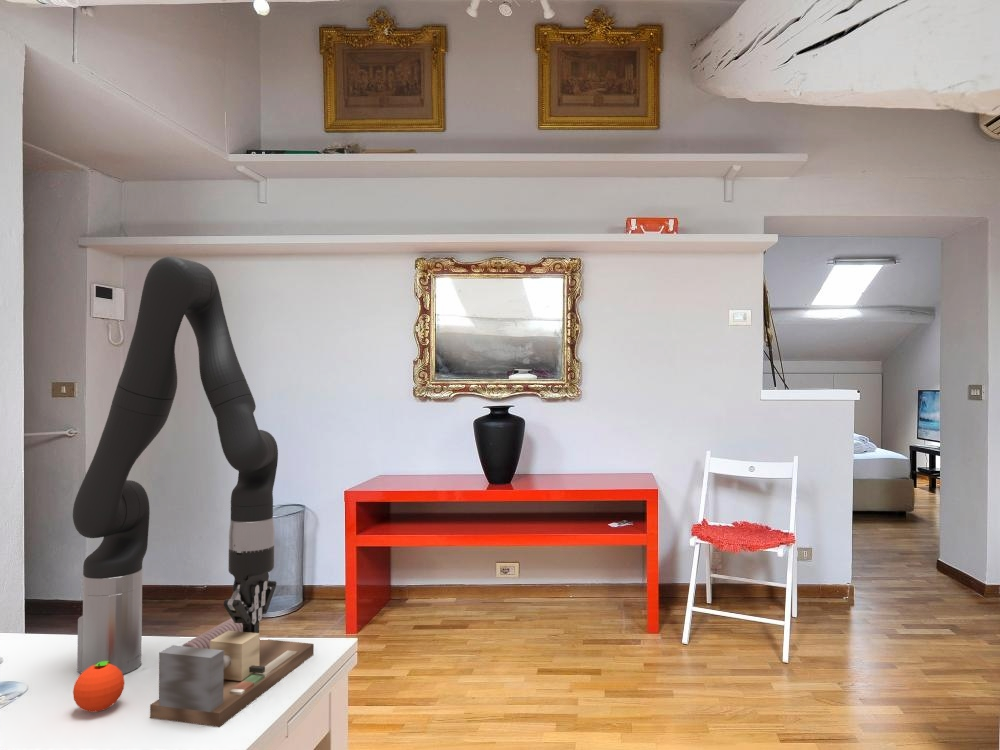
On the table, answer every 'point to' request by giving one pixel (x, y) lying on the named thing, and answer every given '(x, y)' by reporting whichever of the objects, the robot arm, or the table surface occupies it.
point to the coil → (214, 634)
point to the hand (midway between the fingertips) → (250, 643)
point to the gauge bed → (247, 697)
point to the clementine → (98, 687)
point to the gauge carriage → (239, 654)
